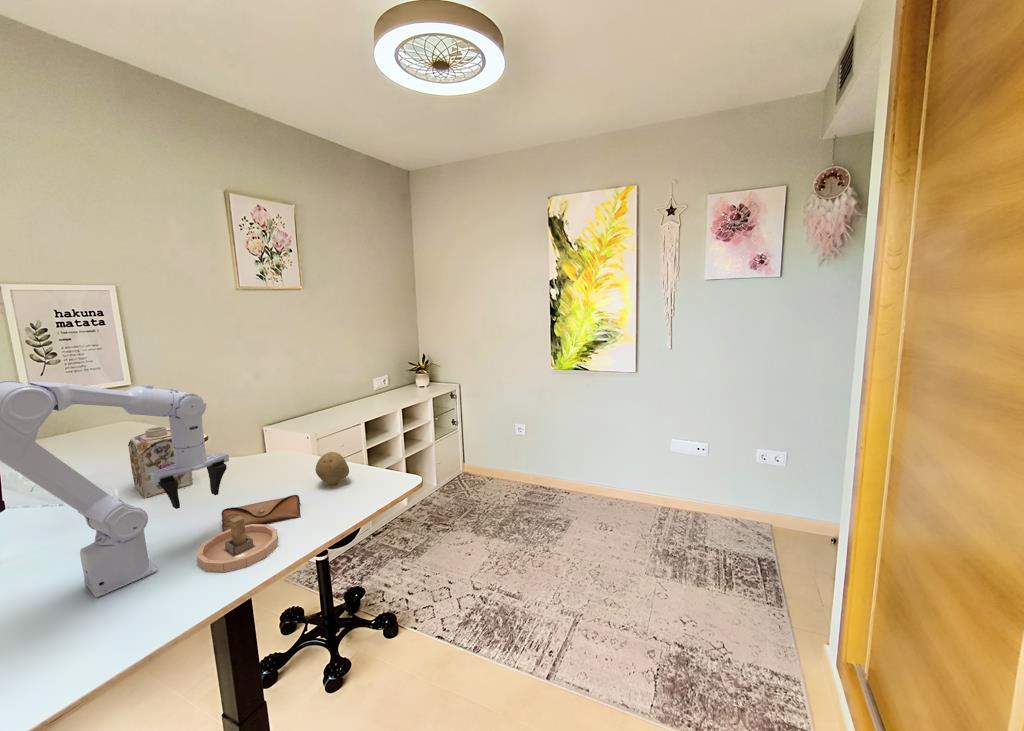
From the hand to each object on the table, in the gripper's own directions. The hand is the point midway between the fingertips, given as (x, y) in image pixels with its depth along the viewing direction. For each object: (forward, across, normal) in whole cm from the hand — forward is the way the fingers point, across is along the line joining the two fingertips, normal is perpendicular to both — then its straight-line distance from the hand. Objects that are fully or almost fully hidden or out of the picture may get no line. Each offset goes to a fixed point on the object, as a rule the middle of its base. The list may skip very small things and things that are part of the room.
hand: (196, 500), depth 98 cm
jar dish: (+10, +3, -12) cm, 16 cm away
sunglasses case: (+11, +13, -2) cm, 17 cm away
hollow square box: (+10, +3, -12) cm, 16 cm away
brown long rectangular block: (+9, +3, -12) cm, 16 cm away
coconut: (+10, +35, +1) cm, 36 cm away
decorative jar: (+10, +6, +41) cm, 43 cm away
